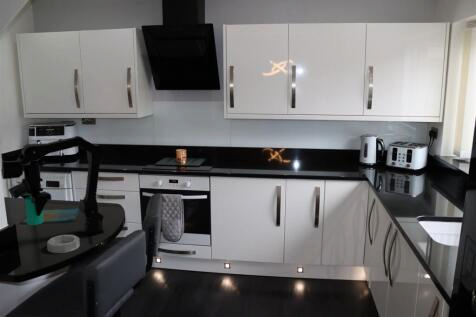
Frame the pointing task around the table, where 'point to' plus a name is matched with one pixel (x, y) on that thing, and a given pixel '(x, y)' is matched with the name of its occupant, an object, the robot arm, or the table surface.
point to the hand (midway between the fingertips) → (34, 213)
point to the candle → (32, 213)
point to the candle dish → (63, 244)
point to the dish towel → (57, 216)
